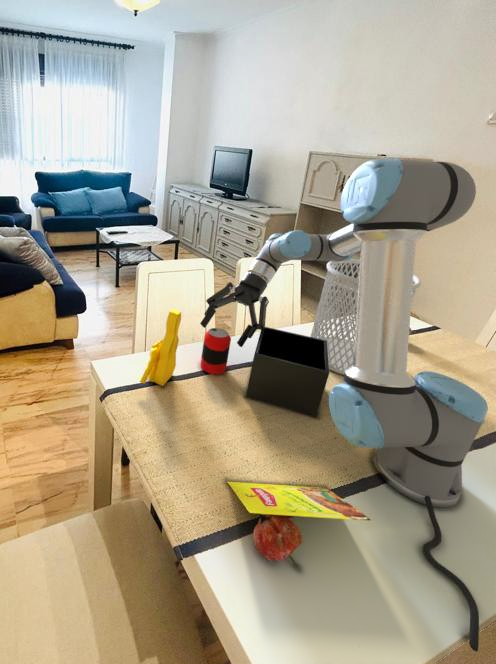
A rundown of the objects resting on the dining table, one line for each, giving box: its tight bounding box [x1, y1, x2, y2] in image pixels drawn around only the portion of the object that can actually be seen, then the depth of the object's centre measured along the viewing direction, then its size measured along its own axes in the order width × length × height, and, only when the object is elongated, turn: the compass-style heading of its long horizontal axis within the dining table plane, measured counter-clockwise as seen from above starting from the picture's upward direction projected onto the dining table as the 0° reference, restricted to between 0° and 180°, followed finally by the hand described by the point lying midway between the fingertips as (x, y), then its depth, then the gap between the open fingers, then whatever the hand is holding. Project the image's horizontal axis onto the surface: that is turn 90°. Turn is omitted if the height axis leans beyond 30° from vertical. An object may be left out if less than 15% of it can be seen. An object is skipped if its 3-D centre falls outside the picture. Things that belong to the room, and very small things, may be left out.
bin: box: [245, 326, 330, 418], centre depth 105 cm, size 18×18×14 cm
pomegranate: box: [253, 513, 303, 568], centre depth 64 cm, size 7×7×10 cm
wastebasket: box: [310, 258, 422, 376], centre depth 120 cm, size 25×25×30 cm
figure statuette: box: [139, 308, 182, 387], centre depth 105 cm, size 18×8×22 cm, turn 150°
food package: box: [227, 481, 373, 522], centre depth 70 cm, size 15×1×20 cm
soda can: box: [200, 327, 232, 375], centre depth 113 cm, size 8×8×12 cm
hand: (220, 335), depth 115 cm, fingers open, 13 cm apart
